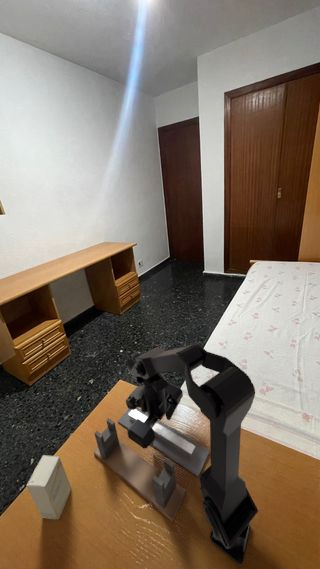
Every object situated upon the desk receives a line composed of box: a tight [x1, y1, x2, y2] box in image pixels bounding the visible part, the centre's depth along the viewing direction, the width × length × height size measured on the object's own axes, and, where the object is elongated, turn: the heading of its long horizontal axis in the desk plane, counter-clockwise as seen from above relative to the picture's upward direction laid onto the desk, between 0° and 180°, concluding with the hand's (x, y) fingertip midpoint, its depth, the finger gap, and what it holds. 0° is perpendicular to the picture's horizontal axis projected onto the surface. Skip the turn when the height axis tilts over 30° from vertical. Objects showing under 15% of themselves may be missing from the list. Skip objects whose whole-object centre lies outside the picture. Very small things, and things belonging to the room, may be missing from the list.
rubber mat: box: [117, 407, 211, 478], centre depth 67 cm, size 28×7×1 cm, turn 55°
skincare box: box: [25, 454, 72, 520], centre depth 52 cm, size 6×4×12 cm
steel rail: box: [128, 410, 196, 460], centre depth 66 cm, size 22×2×2 cm, turn 55°
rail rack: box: [93, 418, 187, 522], centre depth 57 cm, size 26×6×10 cm, turn 55°
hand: (159, 431), depth 66 cm, fingers open, 9 cm apart
